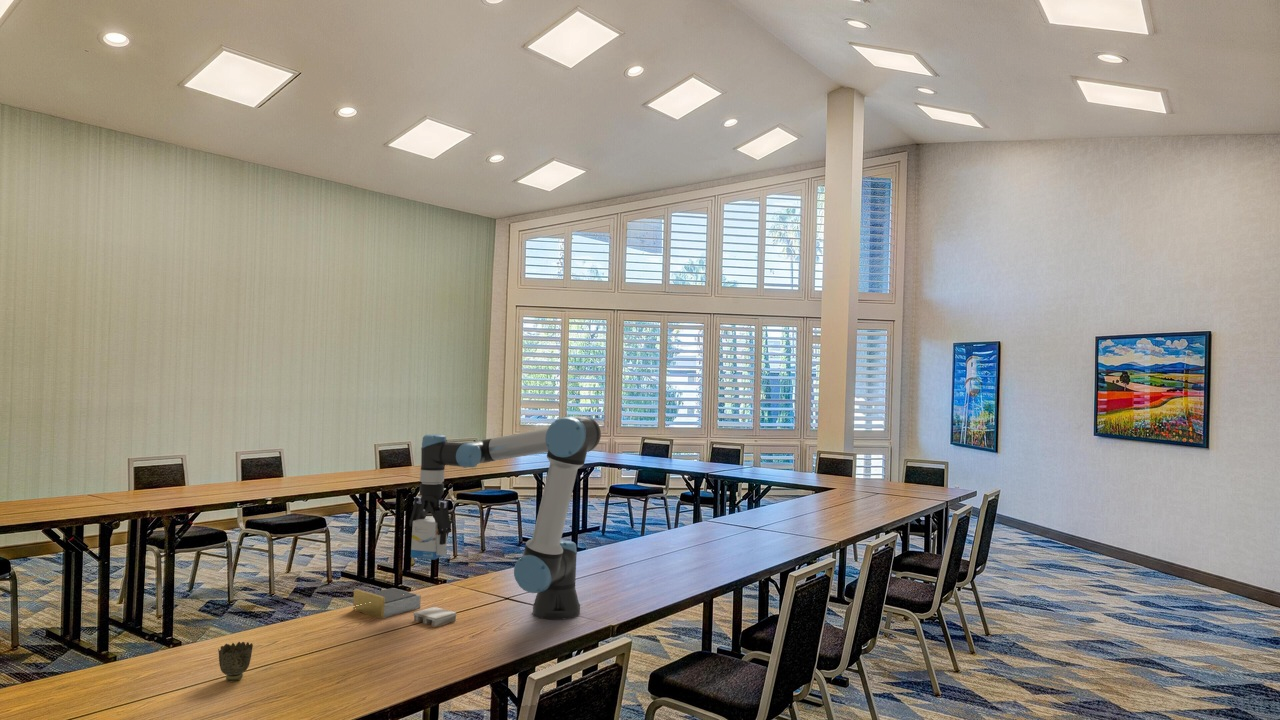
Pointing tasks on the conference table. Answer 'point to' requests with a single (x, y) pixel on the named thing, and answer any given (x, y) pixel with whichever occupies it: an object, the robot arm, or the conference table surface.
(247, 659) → the cup
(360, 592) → the dock
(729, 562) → the conference table surface
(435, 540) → the ink box
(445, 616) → the block
